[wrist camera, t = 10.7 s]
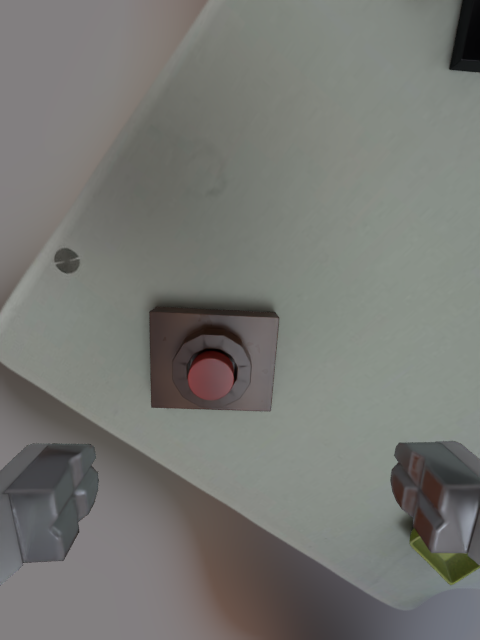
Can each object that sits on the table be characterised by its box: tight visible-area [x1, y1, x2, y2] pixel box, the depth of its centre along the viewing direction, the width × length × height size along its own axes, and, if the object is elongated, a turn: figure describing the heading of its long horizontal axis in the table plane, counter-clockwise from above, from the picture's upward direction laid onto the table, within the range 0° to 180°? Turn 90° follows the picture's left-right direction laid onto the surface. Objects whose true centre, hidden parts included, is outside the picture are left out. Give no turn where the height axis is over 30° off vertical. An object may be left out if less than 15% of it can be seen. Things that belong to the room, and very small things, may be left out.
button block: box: [149, 307, 279, 411], centre depth 25 cm, size 11×9×4 cm
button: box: [188, 351, 234, 400], centre depth 23 cm, size 4×4×2 cm
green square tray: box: [410, 528, 480, 585], centre depth 32 cm, size 9×9×2 cm
